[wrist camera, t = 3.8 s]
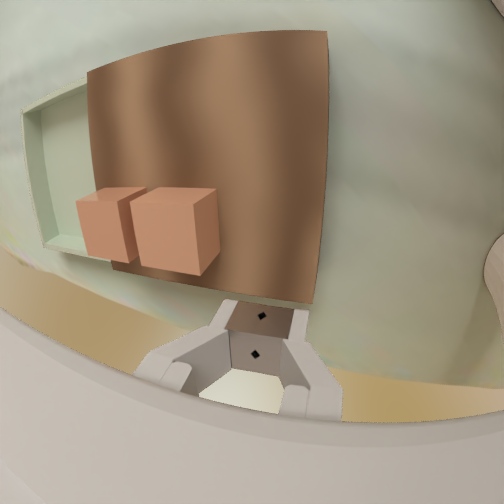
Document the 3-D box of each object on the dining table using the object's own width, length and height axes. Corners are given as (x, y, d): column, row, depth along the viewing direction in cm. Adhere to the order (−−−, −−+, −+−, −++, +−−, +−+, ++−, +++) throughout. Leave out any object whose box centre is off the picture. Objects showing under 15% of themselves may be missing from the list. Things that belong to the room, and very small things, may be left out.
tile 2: (216, 188, 16) (193, 204, 13) (220, 251, 18) (200, 275, 15) (158, 187, 17) (129, 201, 14) (166, 244, 19) (141, 265, 16)
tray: (121, 73, 17) (96, 72, 15) (139, 248, 25) (120, 263, 22) (41, 105, 21) (20, 109, 18) (60, 236, 28) (43, 247, 25)
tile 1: (146, 187, 17) (116, 201, 14) (154, 242, 19) (129, 263, 16) (104, 187, 18) (75, 201, 15) (113, 237, 20) (88, 255, 17)
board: (328, 49, 14) (326, 31, 10) (317, 272, 21) (312, 304, 18) (121, 73, 17) (86, 72, 14) (139, 248, 25) (113, 269, 21)
